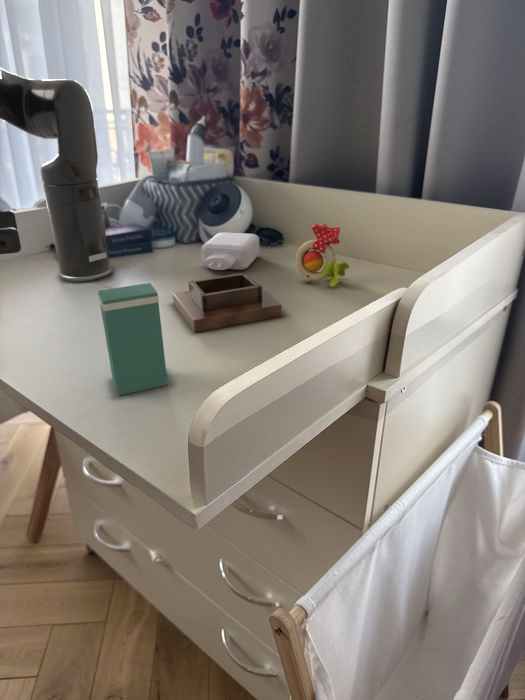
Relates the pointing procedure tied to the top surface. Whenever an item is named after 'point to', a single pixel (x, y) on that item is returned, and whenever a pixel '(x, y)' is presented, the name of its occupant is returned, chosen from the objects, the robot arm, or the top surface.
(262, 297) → the seat base
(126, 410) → the top surface
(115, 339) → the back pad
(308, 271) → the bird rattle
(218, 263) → the charger
